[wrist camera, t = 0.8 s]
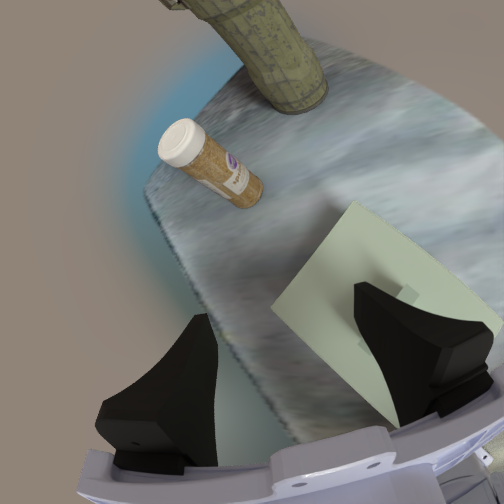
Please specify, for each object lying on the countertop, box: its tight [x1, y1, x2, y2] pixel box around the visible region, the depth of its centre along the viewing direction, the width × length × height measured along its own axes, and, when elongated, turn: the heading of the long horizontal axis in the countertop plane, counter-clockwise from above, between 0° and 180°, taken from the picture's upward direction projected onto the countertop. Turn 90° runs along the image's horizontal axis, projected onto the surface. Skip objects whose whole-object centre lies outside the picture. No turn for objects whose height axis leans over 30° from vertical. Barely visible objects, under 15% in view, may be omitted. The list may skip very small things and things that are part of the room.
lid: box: [270, 200, 504, 429], centre depth 18 cm, size 17×12×5 cm
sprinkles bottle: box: [158, 118, 263, 208], centre depth 28 cm, size 5×5×14 cm
